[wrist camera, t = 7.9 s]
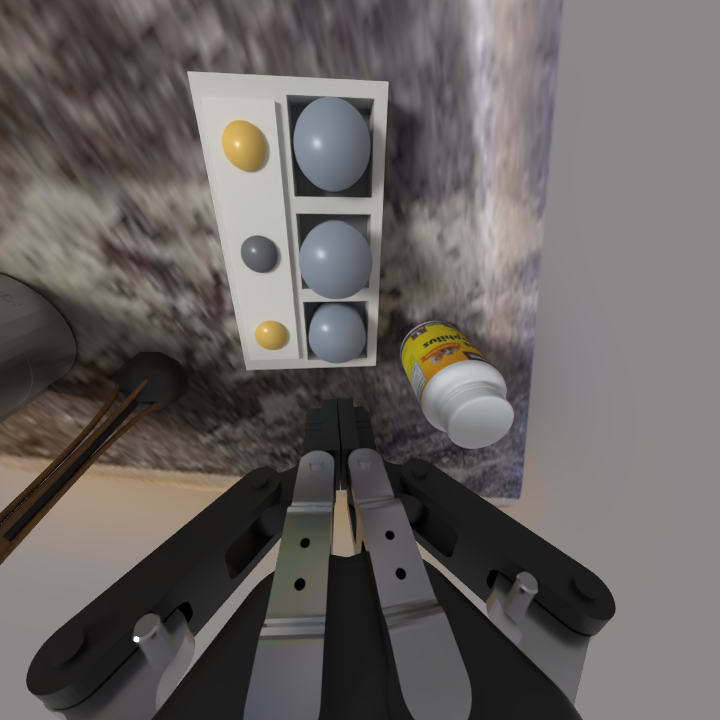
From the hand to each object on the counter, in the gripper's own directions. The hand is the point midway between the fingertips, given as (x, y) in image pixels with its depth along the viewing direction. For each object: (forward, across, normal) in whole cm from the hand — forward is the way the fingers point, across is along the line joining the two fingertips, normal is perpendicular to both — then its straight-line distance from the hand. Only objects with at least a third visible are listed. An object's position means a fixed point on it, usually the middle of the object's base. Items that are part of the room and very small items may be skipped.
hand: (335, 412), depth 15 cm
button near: (+10, 0, -12) cm, 16 cm away
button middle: (+8, 0, -6) cm, 10 cm away
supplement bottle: (+11, -9, +2) cm, 14 cm away
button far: (+10, 0, -1) cm, 10 cm away
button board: (+11, +2, -6) cm, 13 cm away
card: (+8, +4, -6) cm, 11 cm away
